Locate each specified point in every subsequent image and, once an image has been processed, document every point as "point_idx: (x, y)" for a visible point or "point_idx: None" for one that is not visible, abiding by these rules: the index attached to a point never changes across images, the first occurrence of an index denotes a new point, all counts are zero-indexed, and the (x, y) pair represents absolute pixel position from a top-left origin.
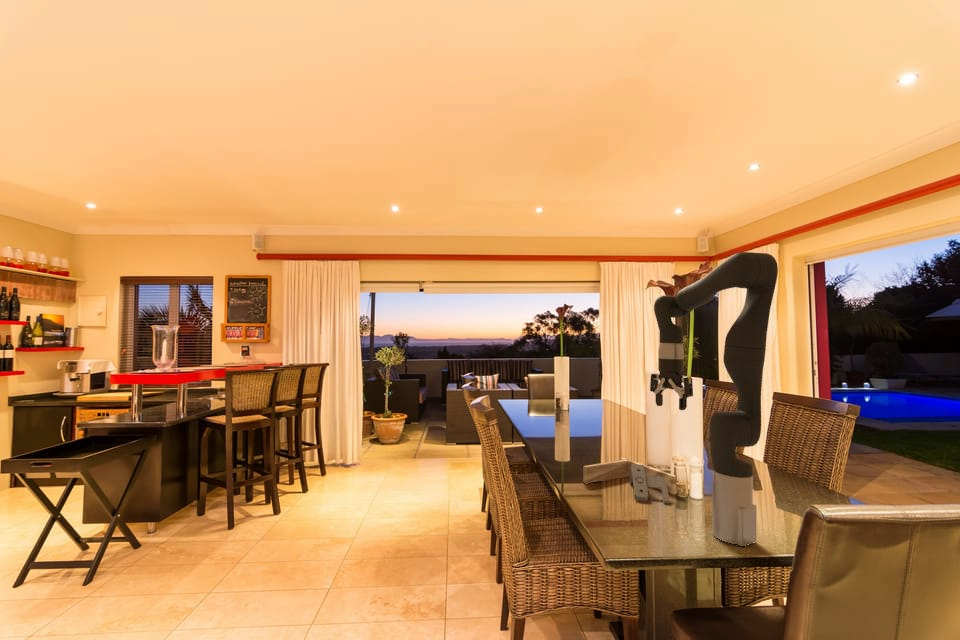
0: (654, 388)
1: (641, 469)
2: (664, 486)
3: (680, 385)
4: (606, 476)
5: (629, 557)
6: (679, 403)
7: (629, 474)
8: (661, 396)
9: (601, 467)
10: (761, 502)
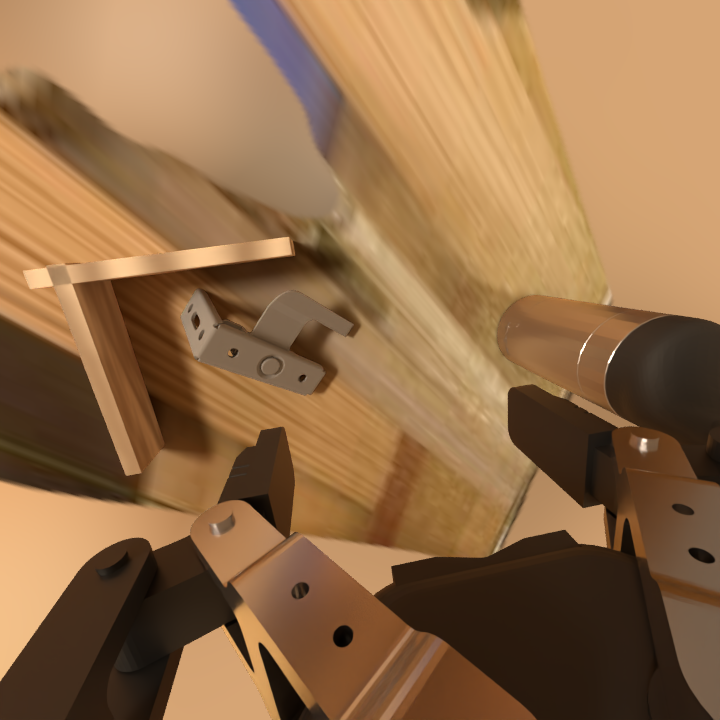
0: (155, 644)
1: (234, 343)
2: (313, 308)
3: (710, 574)
4: (134, 376)
5: (497, 537)
6: (548, 470)
7: (114, 279)
8: (274, 496)
9: (124, 409)
10: (429, 16)
